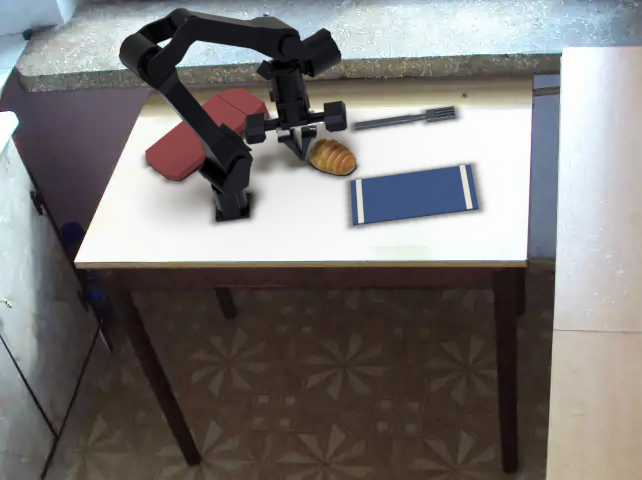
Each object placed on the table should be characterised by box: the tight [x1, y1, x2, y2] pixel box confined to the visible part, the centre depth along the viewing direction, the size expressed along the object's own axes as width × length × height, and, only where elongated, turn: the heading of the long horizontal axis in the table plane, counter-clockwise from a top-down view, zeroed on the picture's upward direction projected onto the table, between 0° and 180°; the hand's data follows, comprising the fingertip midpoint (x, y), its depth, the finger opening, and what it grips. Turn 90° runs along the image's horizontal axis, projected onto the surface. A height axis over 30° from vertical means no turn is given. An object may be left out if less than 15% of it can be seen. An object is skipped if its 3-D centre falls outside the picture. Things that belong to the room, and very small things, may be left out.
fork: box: [354, 105, 457, 131], centre depth 184 cm, size 3×19×1 cm, turn 89°
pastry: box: [308, 137, 357, 176], centre depth 178 cm, size 9×7×4 cm
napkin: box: [350, 164, 480, 226], centre depth 170 cm, size 12×22×1 cm, turn 89°
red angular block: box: [144, 87, 271, 181], centre depth 190 cm, size 12×5×25 cm
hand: (303, 159), depth 179 cm, fingers closed
